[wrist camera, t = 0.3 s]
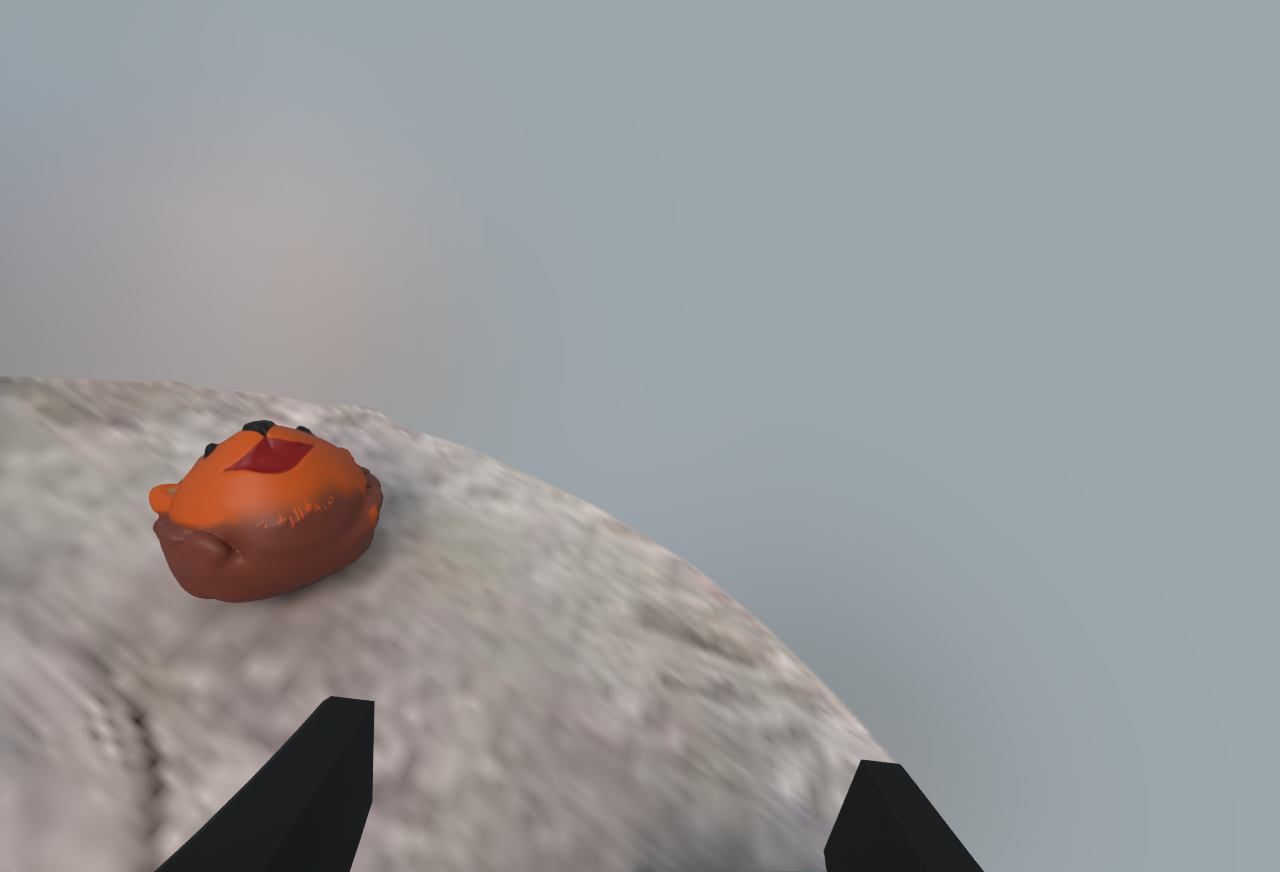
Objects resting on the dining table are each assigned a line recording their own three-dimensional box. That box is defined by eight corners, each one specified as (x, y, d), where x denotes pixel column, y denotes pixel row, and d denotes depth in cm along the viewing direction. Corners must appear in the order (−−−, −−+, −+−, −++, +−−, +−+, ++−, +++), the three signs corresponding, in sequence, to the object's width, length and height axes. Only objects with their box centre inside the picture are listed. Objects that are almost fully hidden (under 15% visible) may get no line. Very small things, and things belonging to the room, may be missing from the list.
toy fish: (208, 672, 37) (160, 488, 32) (153, 572, 43) (106, 405, 38) (417, 582, 45) (406, 422, 39) (345, 508, 51) (327, 363, 46)
